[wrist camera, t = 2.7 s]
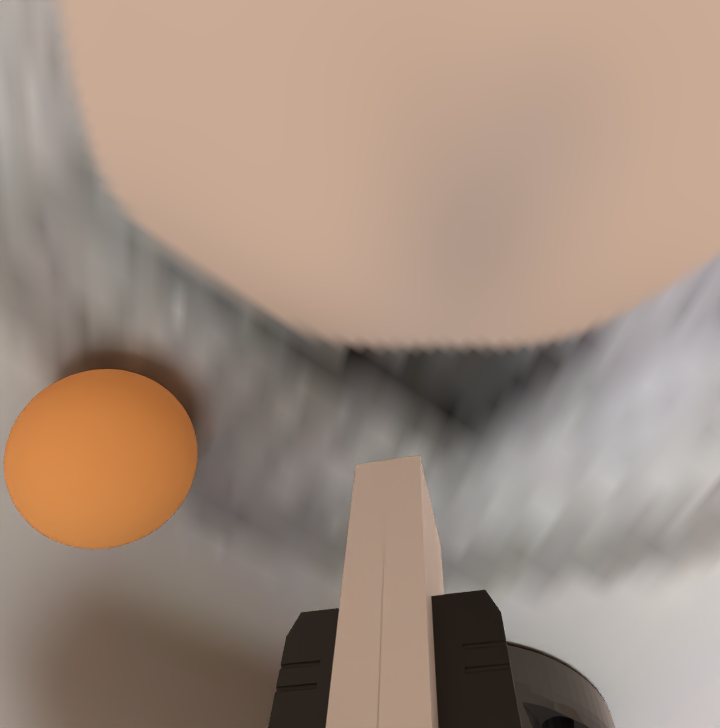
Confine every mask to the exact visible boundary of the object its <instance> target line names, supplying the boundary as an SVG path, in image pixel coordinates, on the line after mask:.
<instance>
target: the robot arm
mask: <svg viewBox="0 0 720 728" xmlns="http://www.w3.org/2000/svg"><path fill="white" fill-rule="evenodd" d="M268 728H615V726H614V723H613V720H612V717H611V714H610V711H609V709H608V707H607V705H606V703H605V701H604V700H603V698H602V697H601V695H600V694H599V693H598V691H597V690H596V689H595V688H594V687H593V686H592V685H591V684H590V683H589V682H588V681H587V680H586V679H584V678H583V677H582V676H581V675H579V674H578V673H576V672H575V671H574V670H572V669H570V668H569V667H567V666H565V665H564V664H562V663H560V662H558V661H556V660H554V659H551V658H549V657H547V656H544V655H541V654H539V653H536V652H533V651H529V650H526V649H523V648H518V647H514V646H509V645H507V643H506V637H505V632H504V626H503V621H502V616H501V612H500V610H499V609H498V607H497V606H496V605H495V603H494V602H493V600H492V599H491V597H490V596H489V595H488V593H487V592H486V590H479V591H471V592H462V593H453V594H445V595H444V585H443V572H442V559H441V547H440V541H439V536H438V532H437V528H436V523H435V519H434V515H433V510H432V506H431V502H430V497H429V493H428V489H427V485H426V480H425V476H424V472H423V467H422V463H421V459H420V455H417V456H410V457H404V458H397V459H391V460H384V461H378V462H371V463H365V464H358V465H356V466H355V475H354V484H353V492H352V501H351V510H350V519H349V527H348V536H347V545H346V554H345V563H344V571H343V580H342V589H341V598H340V606H339V608H336V609H328V610H319V611H310V612H301V614H300V616H299V617H298V619H297V620H296V622H295V624H294V625H293V627H292V629H291V630H290V632H289V634H288V635H287V637H286V642H285V647H284V652H283V657H282V662H281V670H280V672H279V677H278V682H277V692H275V697H274V702H273V707H272V712H271V717H270V722H269V727H268Z"/></svg>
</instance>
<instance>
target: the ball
mask: <svg viewBox="0 0 720 728" xmlns="http://www.w3.org/2000/svg"><path fill="white" fill-rule="evenodd" d="M197 458H198V455H197V440H196V435H195V431H194V428H193V425H192V422H191V420H190V418H189V416H188V414H187V412H186V411H185V409H184V408H183V406H182V405H181V404H180V402H179V401H178V400H177V399H176V398H175V396H173V395H172V394H171V393H170V392H169V391H168V390H167V389H166V388H164V387H163V386H162V385H160V384H158V383H157V382H155V381H153V380H151V379H149V378H147V377H145V376H142V375H139V374H136V373H133V372H129V371H124V370H117V369H97V370H89V371H85V372H81V373H77V374H73V375H70V376H68V377H65V378H63V379H61V380H59V381H57V382H55V383H53V384H52V385H50V386H48V387H47V388H45V389H44V390H43V391H41V392H40V393H39V394H38V395H37V396H36V397H34V398H33V399H32V400H31V401H30V402H29V403H28V405H27V406H26V407H25V408H24V409H23V411H22V412H21V413H20V415H19V416H18V418H17V420H16V421H15V423H14V425H13V427H12V429H11V432H10V434H9V437H8V440H7V444H6V448H5V456H4V473H5V481H6V485H7V488H8V491H9V494H10V496H11V499H12V501H13V503H14V505H15V507H16V508H17V510H18V511H19V512H20V514H21V515H22V516H23V517H24V518H25V520H26V521H27V522H28V523H29V524H30V525H31V526H32V527H33V528H35V529H36V530H37V531H39V532H40V533H42V534H43V535H45V536H46V537H48V538H50V539H52V540H54V541H57V542H59V543H62V544H65V545H69V546H74V547H78V548H86V549H102V548H112V547H117V546H121V545H124V544H127V543H130V542H133V541H136V540H138V539H140V538H142V537H144V536H146V535H148V534H150V533H151V532H153V531H154V530H156V529H157V528H159V527H160V526H161V525H162V524H164V523H165V522H166V521H167V520H168V519H169V518H170V517H171V516H172V515H173V514H174V513H175V512H176V510H177V509H178V508H179V506H180V505H181V504H182V502H183V501H184V499H185V497H186V496H187V494H188V492H189V490H190V487H191V485H192V482H193V479H194V476H195V472H196V466H197Z"/></svg>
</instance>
